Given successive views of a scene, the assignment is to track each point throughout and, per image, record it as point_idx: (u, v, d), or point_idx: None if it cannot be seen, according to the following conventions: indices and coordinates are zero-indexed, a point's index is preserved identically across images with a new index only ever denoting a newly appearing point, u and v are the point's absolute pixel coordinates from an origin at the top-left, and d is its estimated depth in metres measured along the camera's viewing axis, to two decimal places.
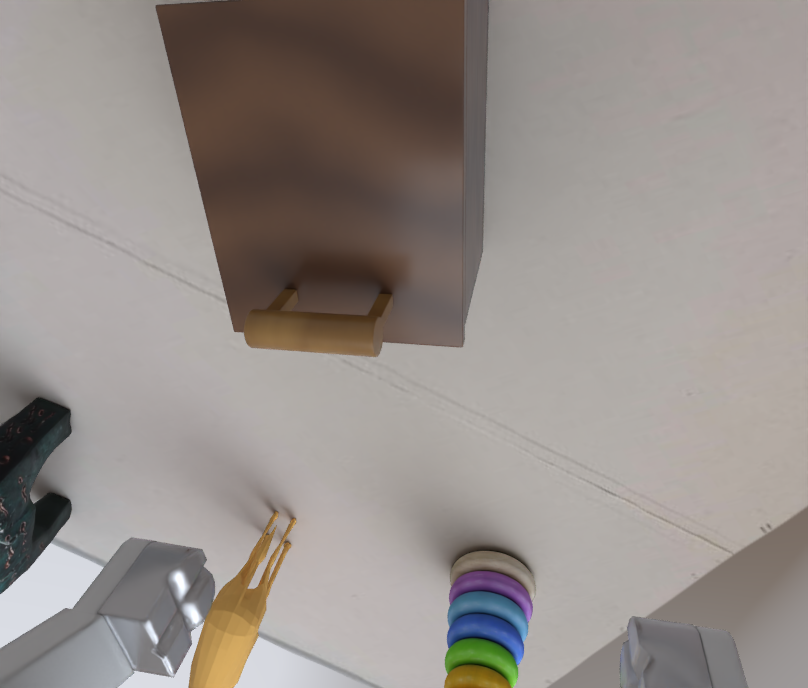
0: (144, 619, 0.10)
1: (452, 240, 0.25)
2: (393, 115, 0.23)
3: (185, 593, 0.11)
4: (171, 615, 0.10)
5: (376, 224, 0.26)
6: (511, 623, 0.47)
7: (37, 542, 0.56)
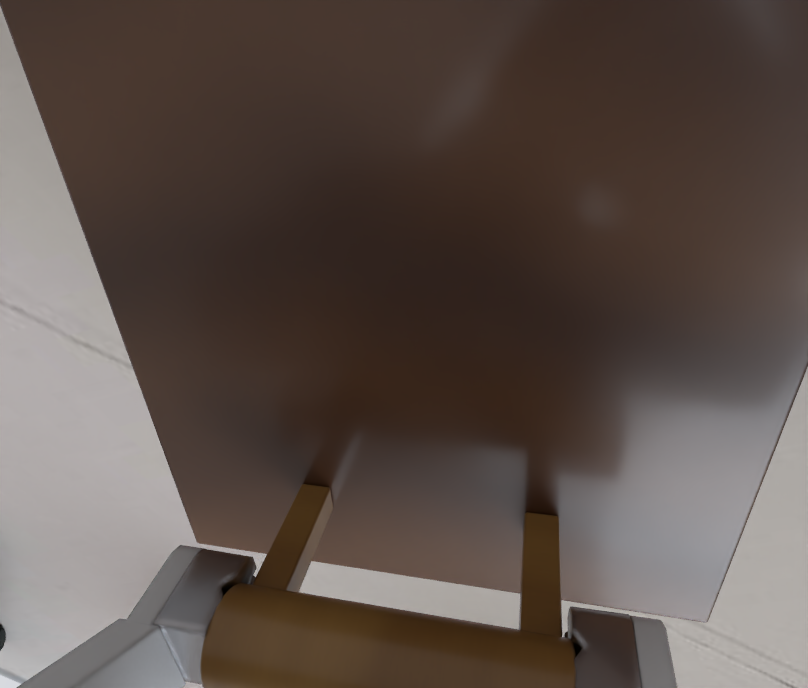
0: (202, 629, 0.09)
1: (754, 421, 0.10)
2: (663, 80, 0.07)
3: None
4: None
5: (545, 373, 0.10)
6: None
7: None
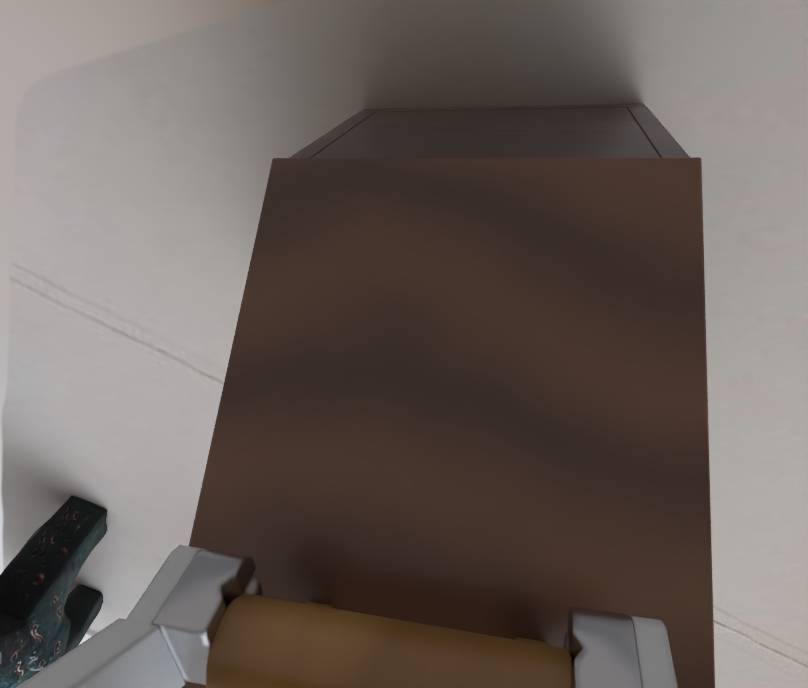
0: (201, 629, 0.09)
1: (688, 525, 0.13)
2: (585, 299, 0.15)
3: None
4: None
5: (530, 478, 0.14)
6: None
7: (69, 648, 0.52)
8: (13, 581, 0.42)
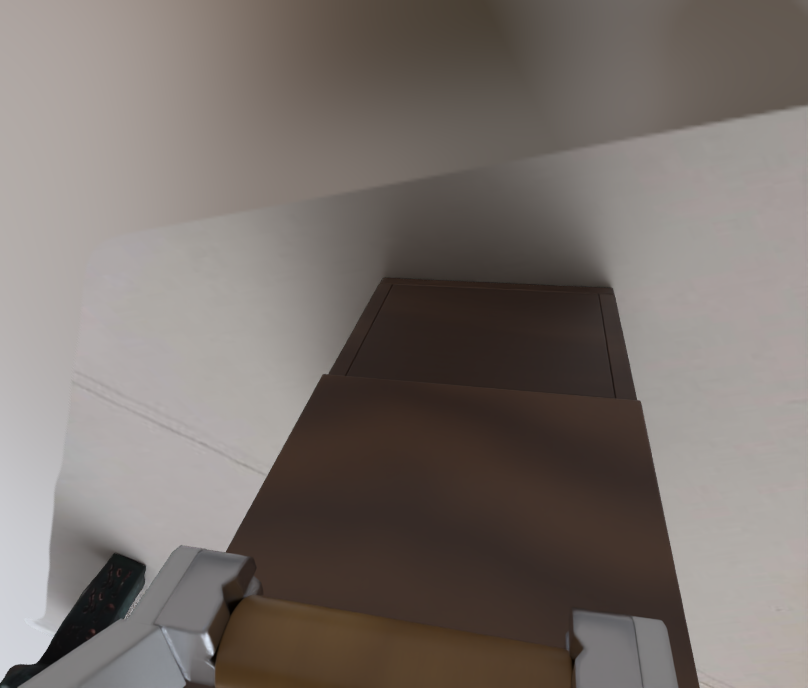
0: (202, 629, 0.09)
1: (672, 656, 0.13)
2: (563, 477, 0.18)
3: (237, 602, 0.10)
4: (226, 625, 0.10)
5: (522, 606, 0.15)
6: None
7: None
8: (69, 637, 0.48)
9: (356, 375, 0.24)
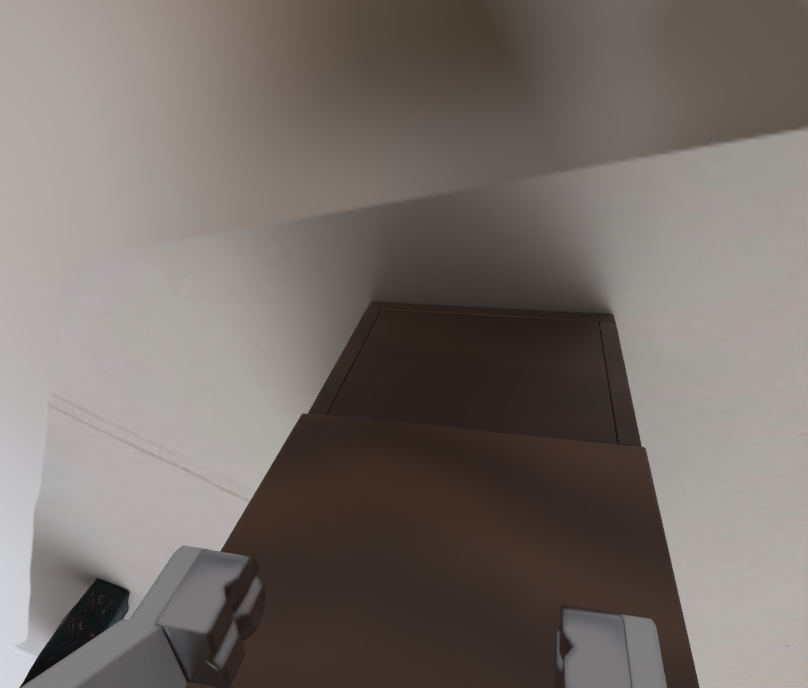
0: (205, 629, 0.09)
1: None
2: (562, 534, 0.16)
3: (239, 603, 0.10)
4: (228, 626, 0.10)
5: None
6: None
7: None
8: (46, 669, 0.46)
9: (338, 414, 0.22)
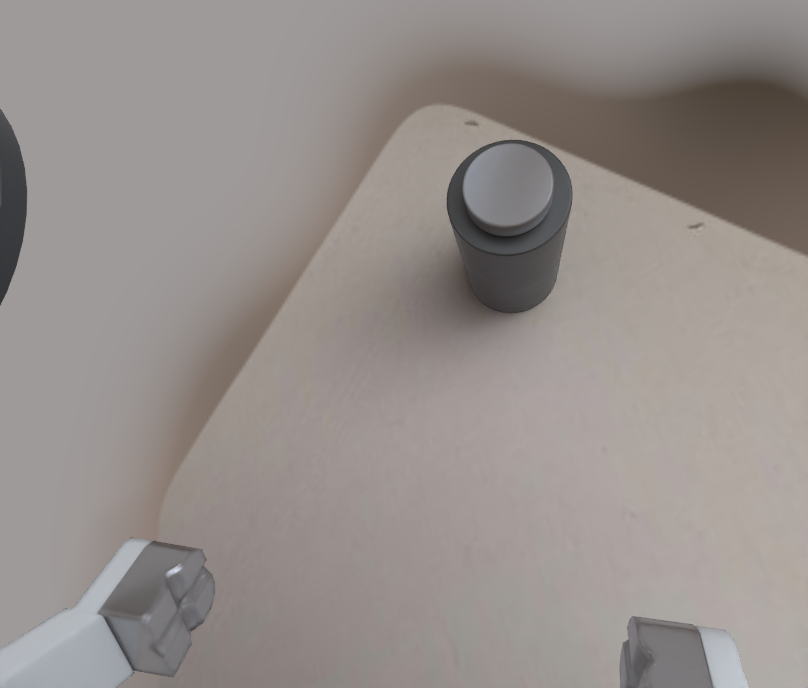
0: (144, 618, 0.10)
1: None
2: None
3: (185, 593, 0.11)
4: (171, 615, 0.10)
5: None
6: None
7: None
8: None
9: None
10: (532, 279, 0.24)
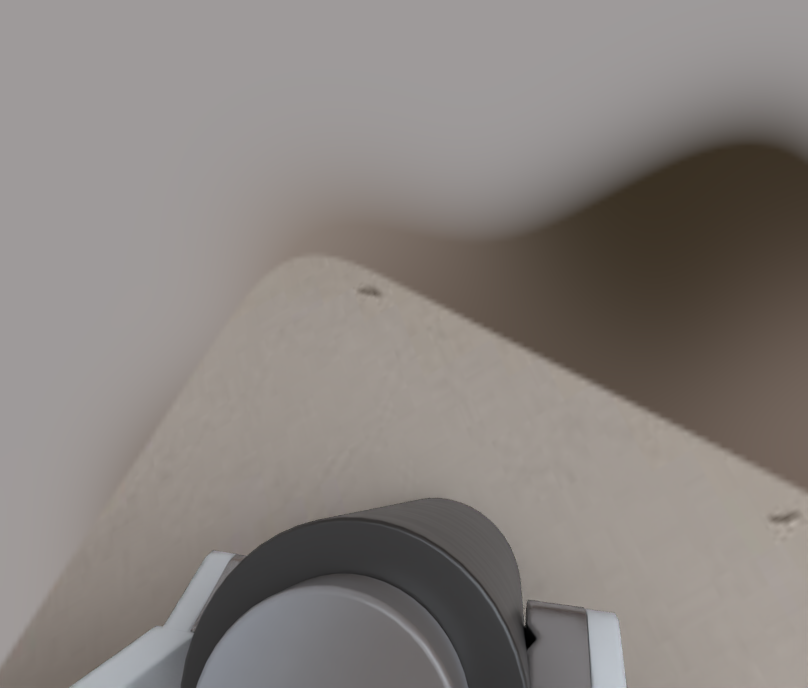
0: None
1: None
2: None
3: None
4: None
5: None
6: None
7: None
8: None
9: None
10: None
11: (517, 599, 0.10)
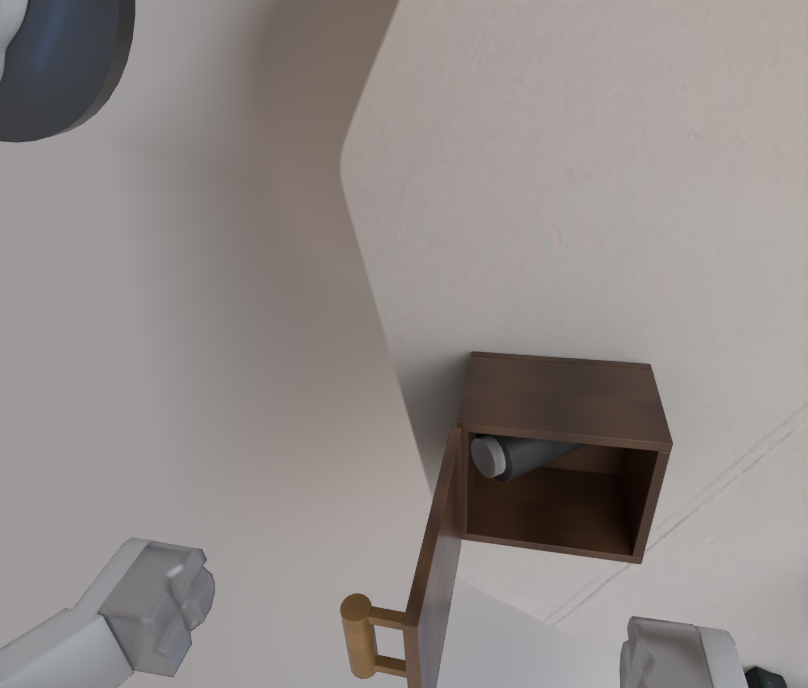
0: (144, 618, 0.10)
1: None
2: None
3: (185, 593, 0.11)
4: (171, 615, 0.10)
5: None
6: None
7: None
8: None
9: None
10: None
11: (547, 445, 0.43)
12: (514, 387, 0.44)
